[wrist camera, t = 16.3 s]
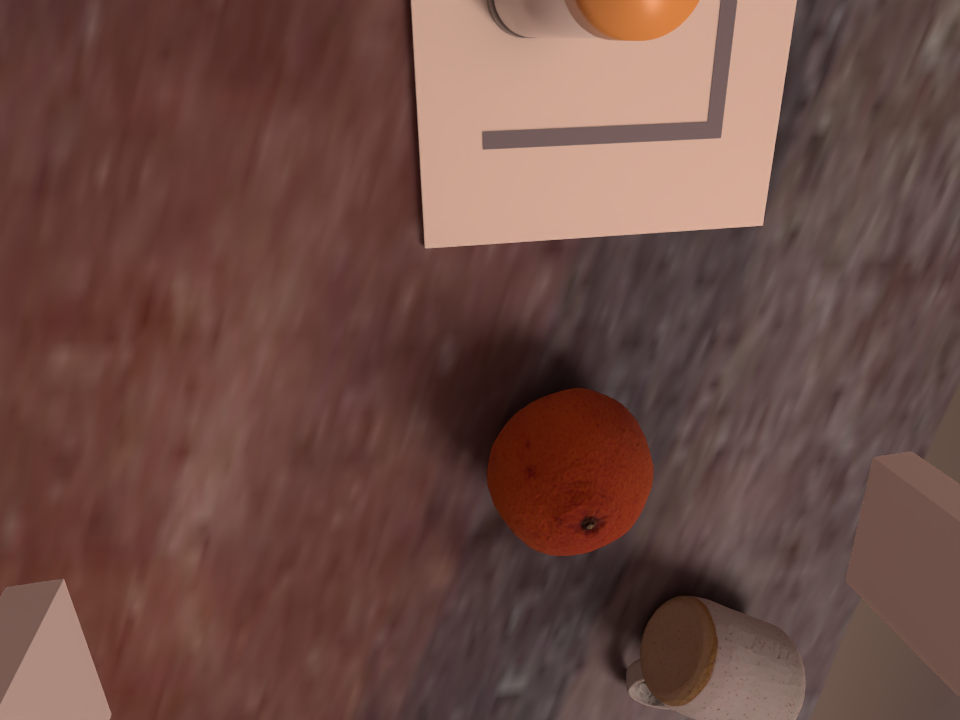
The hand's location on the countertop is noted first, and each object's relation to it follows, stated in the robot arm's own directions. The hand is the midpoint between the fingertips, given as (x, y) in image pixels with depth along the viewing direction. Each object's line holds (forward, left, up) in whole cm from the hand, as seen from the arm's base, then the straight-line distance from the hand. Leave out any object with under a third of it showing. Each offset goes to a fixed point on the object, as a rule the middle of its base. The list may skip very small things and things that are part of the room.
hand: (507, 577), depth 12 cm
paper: (+10, +6, -25) cm, 28 cm away
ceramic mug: (+18, -31, -26) cm, 44 cm away
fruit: (+8, -14, -26) cm, 30 cm away
